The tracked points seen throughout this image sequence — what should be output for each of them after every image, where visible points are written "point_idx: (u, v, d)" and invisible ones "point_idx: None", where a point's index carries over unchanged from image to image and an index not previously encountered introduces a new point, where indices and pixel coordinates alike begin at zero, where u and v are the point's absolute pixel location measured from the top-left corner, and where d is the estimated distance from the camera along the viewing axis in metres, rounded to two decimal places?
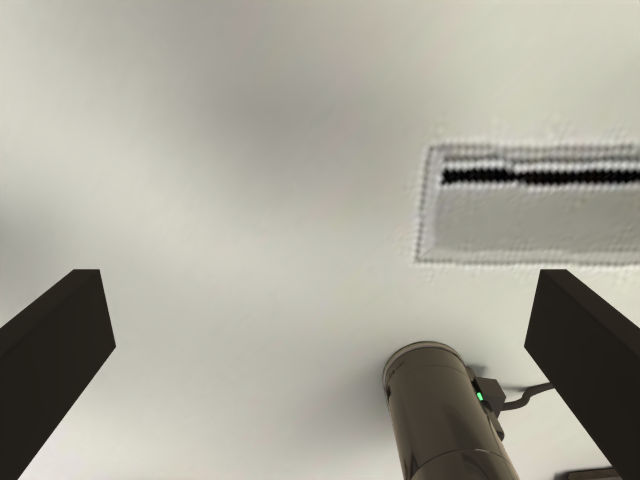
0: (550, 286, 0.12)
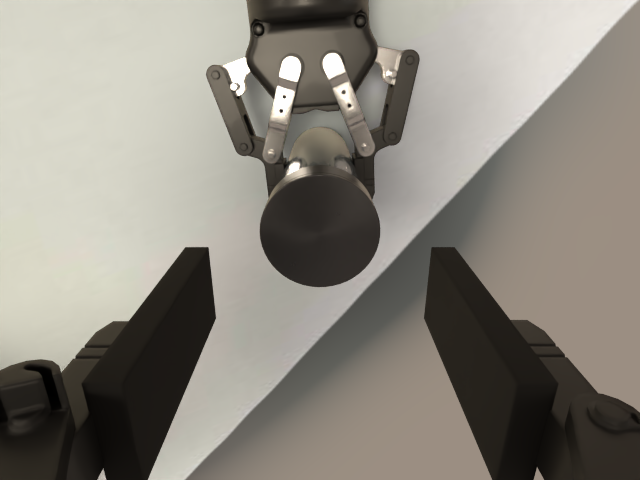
0: (436, 261, 0.13)
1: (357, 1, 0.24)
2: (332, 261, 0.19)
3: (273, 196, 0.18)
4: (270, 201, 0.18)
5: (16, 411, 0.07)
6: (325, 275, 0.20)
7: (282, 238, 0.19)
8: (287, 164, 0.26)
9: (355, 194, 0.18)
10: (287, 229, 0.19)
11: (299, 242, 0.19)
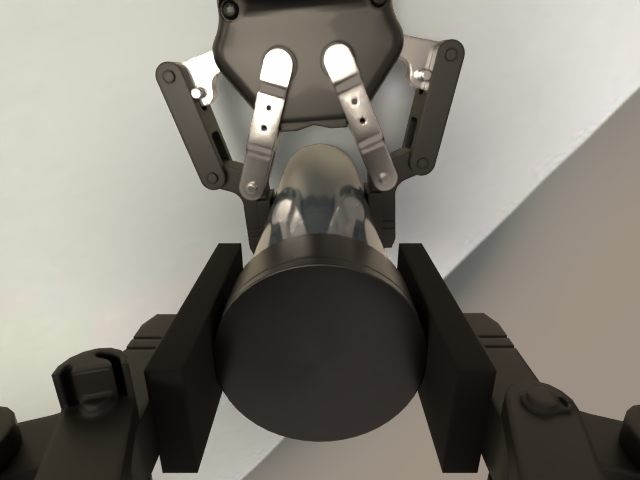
0: (402, 257, 0.14)
1: None
2: (342, 404, 0.11)
3: (234, 301, 0.10)
4: (229, 309, 0.10)
5: (88, 395, 0.07)
6: (329, 424, 0.11)
7: (253, 368, 0.11)
8: (272, 207, 0.18)
9: (385, 297, 0.10)
10: (261, 354, 0.10)
11: (283, 374, 0.11)
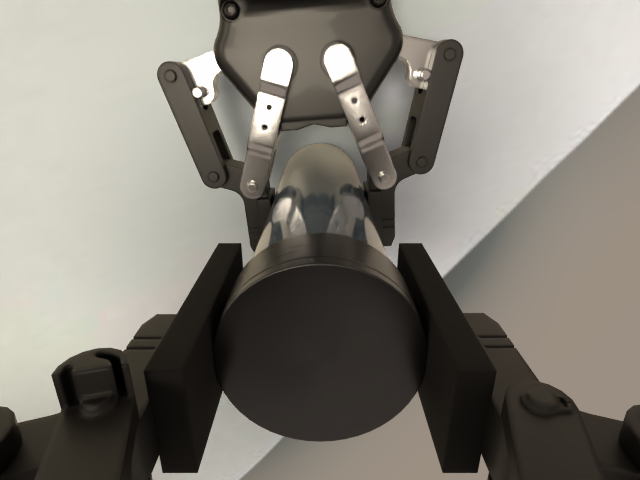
0: (402, 257, 0.14)
1: None
2: (379, 365, 0.11)
3: (224, 391, 0.11)
4: (230, 398, 0.11)
5: (87, 396, 0.07)
6: (396, 385, 0.11)
7: (297, 410, 0.11)
8: (273, 205, 0.18)
9: (281, 282, 0.10)
10: (286, 398, 0.11)
11: (317, 393, 0.11)
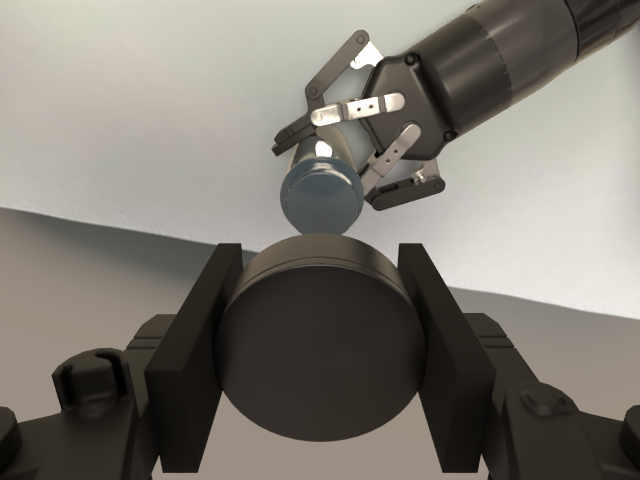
0: (402, 257, 0.14)
1: (463, 129, 0.30)
2: (379, 366, 0.11)
3: (224, 392, 0.11)
4: (230, 399, 0.11)
5: (87, 396, 0.07)
6: (396, 385, 0.11)
7: (297, 411, 0.11)
8: (325, 139, 0.29)
9: (282, 283, 0.10)
10: (287, 399, 0.11)
11: (317, 393, 0.11)
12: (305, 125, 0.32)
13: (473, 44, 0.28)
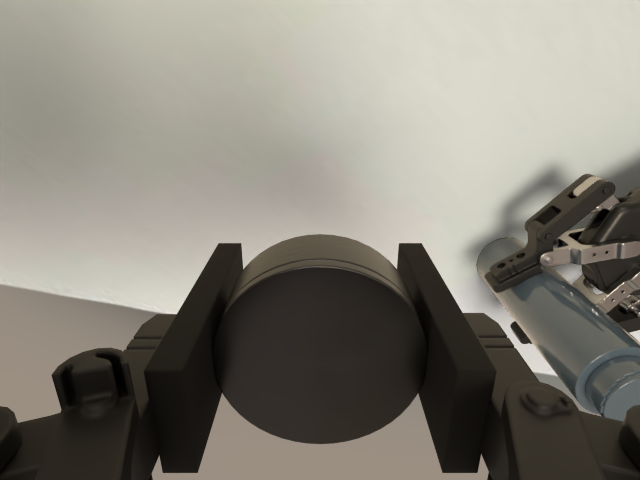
0: (402, 257, 0.14)
1: None
2: (379, 368, 0.10)
3: (224, 394, 0.11)
4: (229, 401, 0.11)
5: (87, 396, 0.07)
6: (396, 387, 0.11)
7: (297, 413, 0.11)
8: (571, 291, 0.29)
9: (281, 284, 0.10)
10: (286, 401, 0.11)
11: (317, 395, 0.11)
12: (530, 264, 0.32)
13: None
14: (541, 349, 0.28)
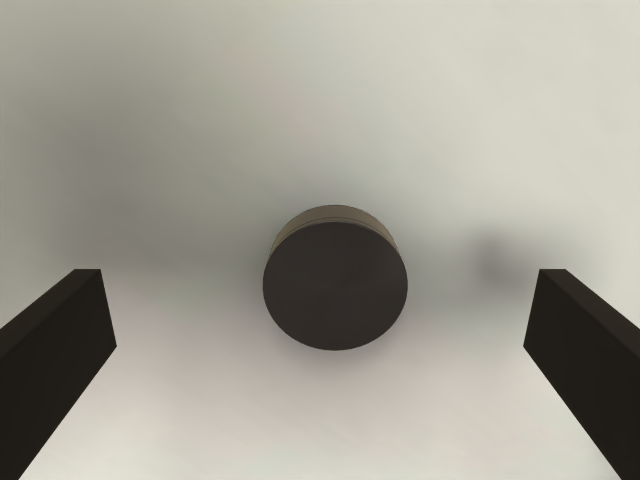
0: (549, 286, 0.12)
1: None
2: (374, 293, 0.16)
3: (269, 311, 0.16)
4: (273, 317, 0.16)
5: None
6: (386, 307, 0.16)
7: (318, 326, 0.16)
8: None
9: (310, 233, 0.15)
10: (311, 317, 0.16)
11: (332, 313, 0.16)
12: None
13: None
14: None
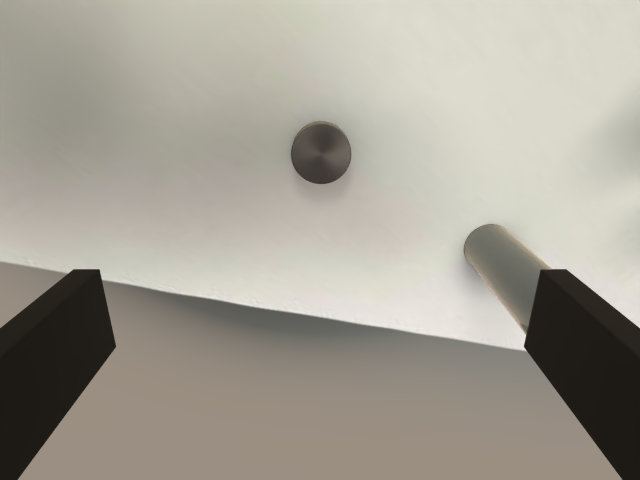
0: (550, 286, 0.12)
1: None
2: (337, 156, 0.38)
3: None
4: (295, 167, 0.38)
5: None
6: (342, 163, 0.38)
7: (314, 172, 0.38)
8: (543, 267, 0.33)
9: (311, 129, 0.37)
10: (311, 167, 0.38)
11: (320, 165, 0.38)
12: None
13: None
14: (515, 317, 0.32)
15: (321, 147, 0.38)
